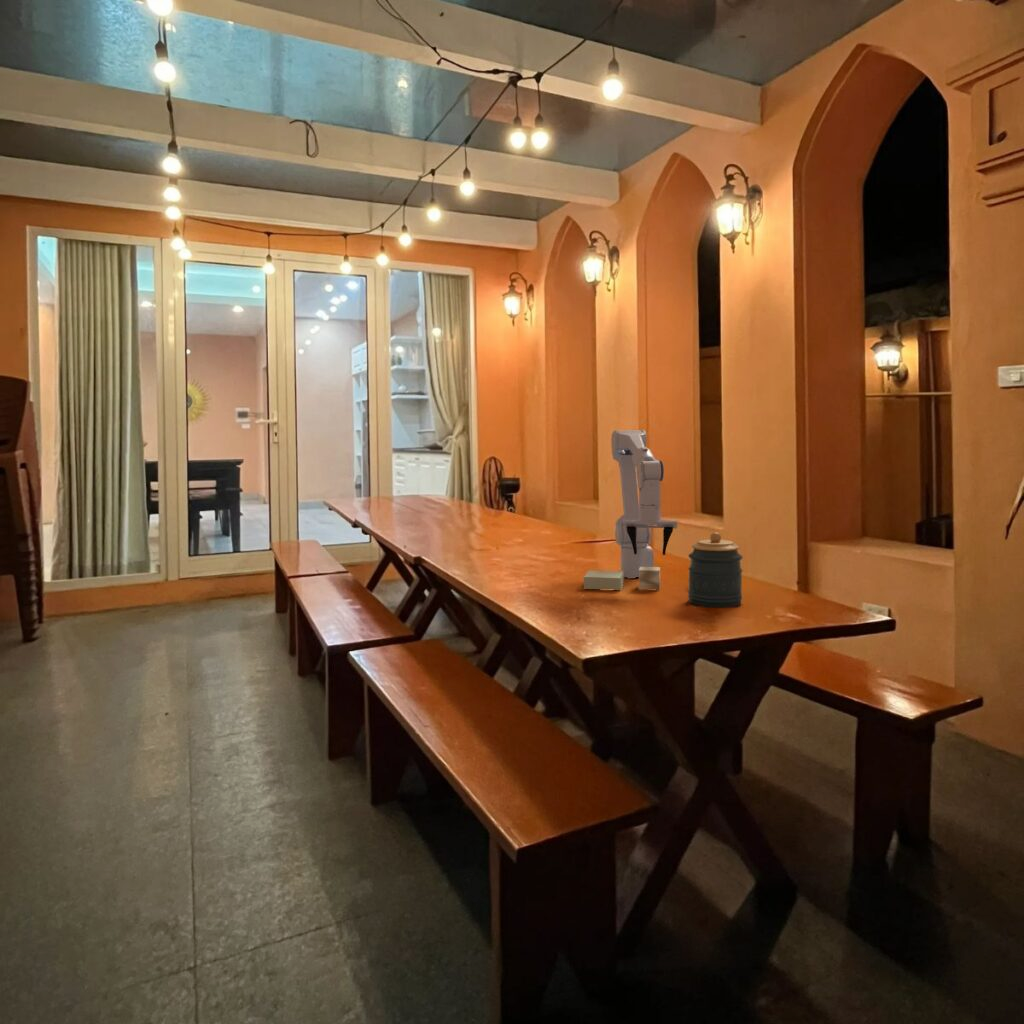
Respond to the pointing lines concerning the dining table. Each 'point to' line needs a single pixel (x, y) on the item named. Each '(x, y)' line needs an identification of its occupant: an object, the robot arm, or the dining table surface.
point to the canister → (715, 573)
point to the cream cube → (649, 578)
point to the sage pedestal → (604, 580)
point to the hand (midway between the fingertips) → (649, 554)
